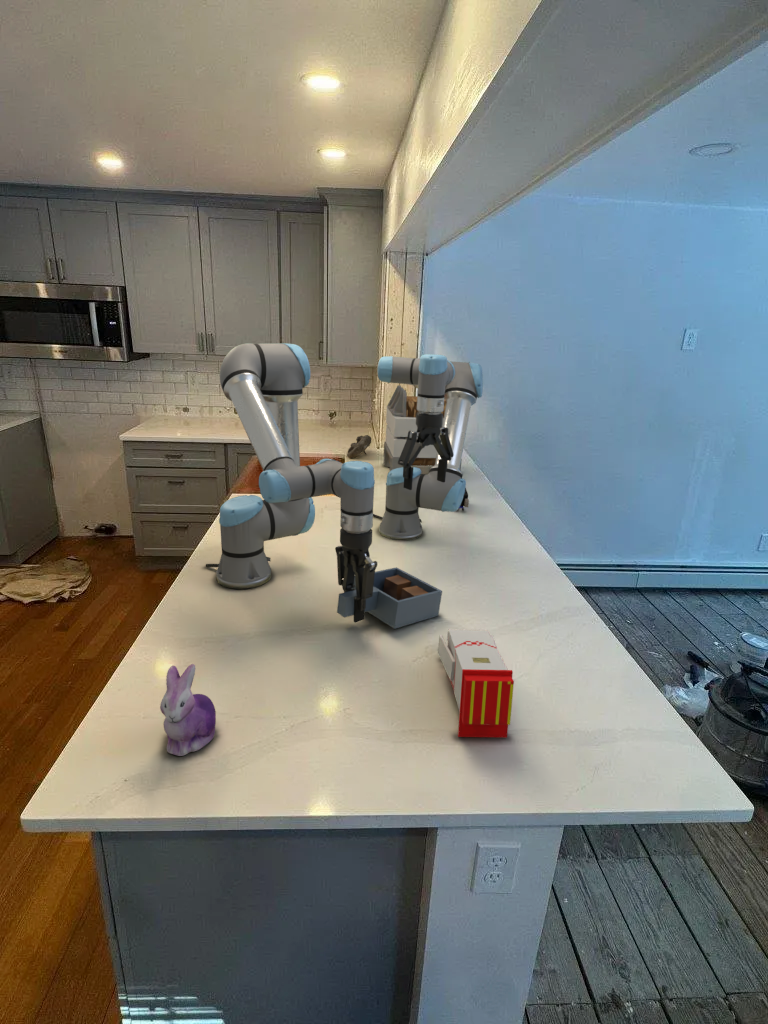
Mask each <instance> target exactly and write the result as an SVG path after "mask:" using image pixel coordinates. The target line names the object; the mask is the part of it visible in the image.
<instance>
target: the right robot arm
mask: <svg viewBox="0 0 768 1024" xmlns="http://www.w3.org/2000/svg"><path fill="white" fill-rule="evenodd" d="M377 378H378V380H379V381H380V382H382V383H387V384H398V385H399V384H401V385H408V386H413V387H414V388H416V389H417V396H416V397H417V410H418V412H417V413H416V425H417V431H416V432H413V431H409V432H408V437H407V440H406V443H405V445H404V448H403V450H402V453H401V455H400V458H399V460H398V464H399V465H402V466H403V467H402V468H396V469H393V470H391V471H390V470H389V472H388V473H387V475H386V482H385V504H384V505H385V507H384V508H385V509H384V513H383V515H382V516H380V515H377V514H374V513H373V518H377V519H379V520H381V522H379V527H378V533H379V534H380V535H381V536H382V537H385V538H387V539H389V540H395V541H410V540H415V539H418V538H420V537H421V536H422V535H423V525H422V524H421V523H422V519H421V518H420V515H419V509H425V510H433V511H439V512H440V511H441V513H444V512H447V513H449V512H450V513H455V512H457V511H458V510H459V509H460V508H459V507H460V505H461V502H462V500H463V496H464V493H465V487H466V486H467V481H466V479H464V478H463V476H464V474H463V472H462V470H461V471H460V463H461V464H462V462H461V458H462V457H463V451H464V450H463V449H464V447H465V440H466V435H467V430H468V424H469V418H470V414H471V408H472V406H473V405H475V404H476V403H477V399H479V398H482V397H483V388H484V385H483V384H484V379H483V378H484V375H483V367H482V365H481V364H480V363H476V362H470V361H468V362H466V361H465V362H463V361H452V360H451V361H450V360H448V357H447V356H445V355H443V354H435V353H434V354H433V353H432V354H431V353H430V354H429V353H427V354H422V355H421V356H420V357H419V358H417V357H416V358H415V357H404V356H393V355H390V356H388V355H386V356H381V357H380V358H379V361H378V363H377ZM444 399H445V401H446V402H447V403H446V408H445V414H444V419H443V414H442V413H441V412H443V409H444ZM439 435H440V438H439ZM419 442H420V443H419ZM429 445H433V446H434V447H435V449H436V451H437V456H436V461H435V465H434V466H430V468H429V470H428V473H427V474H426V473H422V469H421V468H419V467H417V466H412V464H413V462H414V461H415V459H416V458H417V456H418V454H419V453H420V451H421V450H422V448H424V447H425V446H429ZM456 510H457V511H456Z"/></svg>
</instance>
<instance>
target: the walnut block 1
mask: <svg viewBox="0 0 768 1024" xmlns="http://www.w3.org/2000/svg"><path fill="white" fill-rule="evenodd" d="M410 585H411V581H409V580H407V579H405V578H403V577H401V576H399V575H396V576H392V577H387V578H385V582H384V590H383V592H384V593H386V594H388V595H389V596H391V597H393V598H395V599H396V600H398V601H399V600H401V594H402V588H407V587H410Z"/></svg>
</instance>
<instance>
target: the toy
mask: <svg viewBox="0 0 768 1024" xmlns="http://www.w3.org/2000/svg"><path fill="white" fill-rule="evenodd" d="M446 640H447V643H446V641H445V639H444V636H443V635H442V634H439V637H438V646H437V656H438V657H439V659H440V661H441V663H442V666H443V668H444V670H445V672H446V674H447V677H448V679H449V681H450V684H451V687H452V690H453V693H454V697H455V701H456V705H457V708H458V711H459V714H458V715H459V716H458V730H457V731H458V732H457V737H458V738H508V731H509V726H510V725H511V717H512V707H513V697H514V696H513V695H514V684H515V680H514V679H513V673H514V671H513V670H512V669H508V667H507V665H506V662H505V661H504V659H503V658H502V655H501V653H500V651H499V649H498V647H497V643H496V639H495V637H494V635H493V634H491V632H490V631H489V629H467V628H466V629H465V628H463V629H461V628H460V629H459V628H448V630H447V639H446Z"/></svg>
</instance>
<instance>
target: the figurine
mask: <svg viewBox="0 0 768 1024" xmlns="http://www.w3.org/2000/svg"><path fill="white" fill-rule="evenodd" d="M195 675H196V665H195V664H194V663H191V664H189V665H188V666H187V668H185V670H184V672H183V673H181V675H180V673H179V670H178V668H177V666H176V665H171V666H170V667H169V668H168V669H167V672H166V680H165V681H166V683H165V684H166V691H165V693H164V695H163V697H162V699H161V701H160V704H159V705H160V706H159V708H160V712H161V714H162V715H163V716H164V717H165V718H164V720H163V729H164V732H165V735H166V737H167V745H166V752H167V753H168V754H170V755H174V756H179V757H181V756H187V754H190V753H191V752H197V751H199V750H202V748H204V747H206V745H208V744H209V743H210V742H211V741H212V740H213V739H214V737H215V735H216V723H217V718H216V717H217V716H216V715H217V713H216V708H215V707H216V706H215V705H214V703H213V701H212V699H211V698H210V697H209V696H208V695H205V694H202V693H193V692H192V685H193V681H194V678H195Z"/></svg>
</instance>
